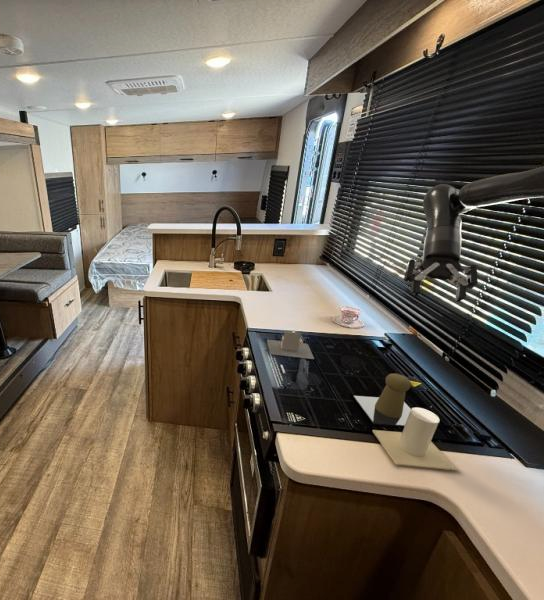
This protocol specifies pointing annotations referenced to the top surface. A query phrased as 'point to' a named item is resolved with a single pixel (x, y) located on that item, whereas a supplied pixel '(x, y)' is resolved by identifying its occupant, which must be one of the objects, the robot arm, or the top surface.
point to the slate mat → (379, 418)
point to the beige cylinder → (418, 431)
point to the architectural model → (290, 346)
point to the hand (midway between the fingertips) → (437, 297)
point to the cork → (393, 395)
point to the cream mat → (401, 457)
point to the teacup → (349, 317)
